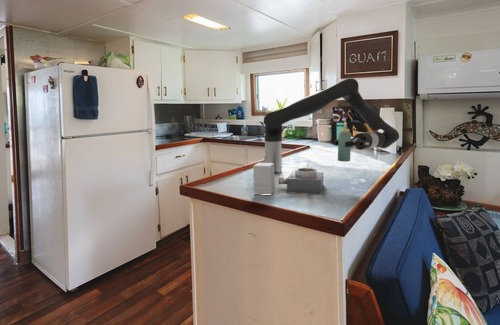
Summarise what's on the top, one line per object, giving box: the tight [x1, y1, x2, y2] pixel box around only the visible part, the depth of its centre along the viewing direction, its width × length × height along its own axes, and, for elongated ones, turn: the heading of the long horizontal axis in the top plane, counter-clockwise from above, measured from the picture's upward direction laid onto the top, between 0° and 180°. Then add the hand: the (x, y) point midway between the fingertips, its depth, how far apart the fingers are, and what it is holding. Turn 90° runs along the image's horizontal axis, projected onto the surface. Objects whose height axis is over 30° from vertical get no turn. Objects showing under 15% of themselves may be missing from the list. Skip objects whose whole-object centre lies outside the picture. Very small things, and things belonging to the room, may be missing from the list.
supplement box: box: [252, 162, 276, 195], centre depth 131 cm, size 7×7×13 cm
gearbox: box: [277, 167, 324, 195], centre depth 137 cm, size 19×16×8 cm
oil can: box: [337, 121, 352, 163], centre depth 134 cm, size 5×5×17 cm
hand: (340, 143), depth 133 cm, fingers closed on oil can, 5 cm apart
